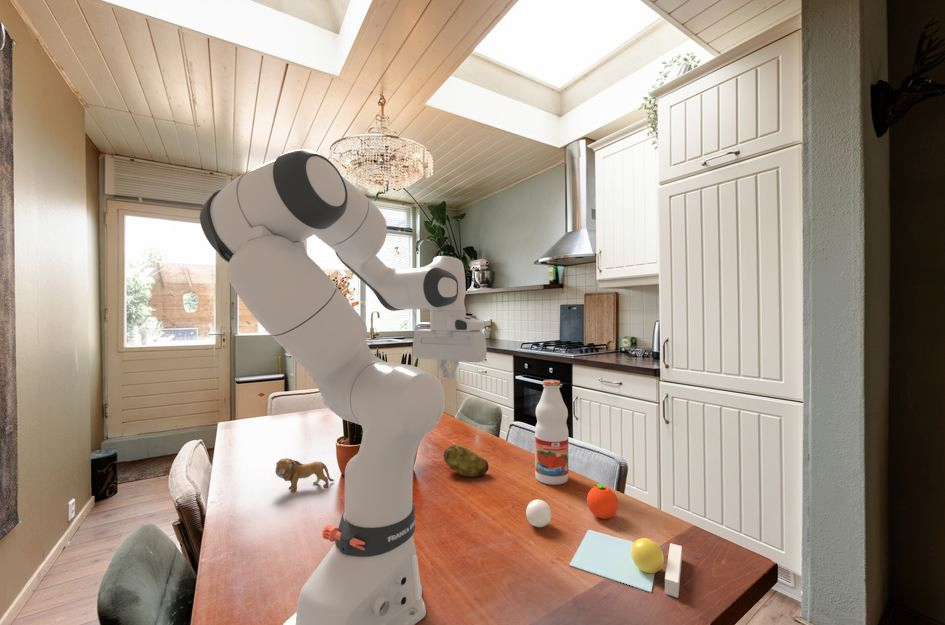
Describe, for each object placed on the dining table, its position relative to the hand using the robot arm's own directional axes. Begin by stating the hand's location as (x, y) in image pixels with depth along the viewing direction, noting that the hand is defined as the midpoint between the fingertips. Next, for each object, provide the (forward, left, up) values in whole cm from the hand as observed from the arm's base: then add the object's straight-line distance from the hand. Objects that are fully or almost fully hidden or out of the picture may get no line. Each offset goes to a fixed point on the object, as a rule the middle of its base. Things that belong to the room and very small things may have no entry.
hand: (447, 378), depth 97 cm
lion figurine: (-13, +38, -31) cm, 51 cm away
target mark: (-1, -40, -31) cm, 51 cm away
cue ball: (+2, -23, -28) cm, 37 cm away
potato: (+18, +6, -31) cm, 37 cm away
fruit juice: (+28, -17, -31) cm, 45 cm away
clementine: (+14, -34, -31) cm, 48 cm away
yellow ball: (-2, -46, -28) cm, 54 cm away
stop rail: (-1, -50, -31) cm, 59 cm away
